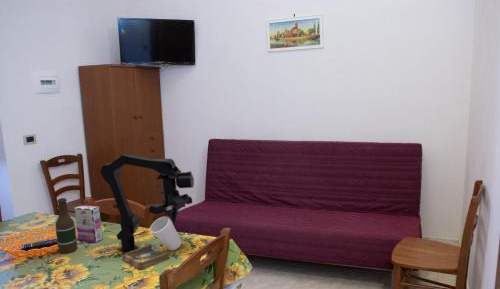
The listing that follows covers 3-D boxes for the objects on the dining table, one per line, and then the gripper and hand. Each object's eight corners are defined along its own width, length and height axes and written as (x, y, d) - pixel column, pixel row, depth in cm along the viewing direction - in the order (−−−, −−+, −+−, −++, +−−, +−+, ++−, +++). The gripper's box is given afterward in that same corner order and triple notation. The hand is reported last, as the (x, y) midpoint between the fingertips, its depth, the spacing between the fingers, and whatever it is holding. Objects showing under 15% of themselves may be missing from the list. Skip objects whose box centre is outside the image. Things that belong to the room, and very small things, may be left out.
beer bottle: (81, 248, 178) (75, 197, 174) (67, 255, 171) (60, 202, 167) (69, 246, 181) (62, 195, 177) (54, 252, 174) (47, 200, 170)
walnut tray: (122, 260, 163) (122, 254, 163) (150, 249, 172) (149, 244, 172) (140, 270, 153) (140, 264, 153) (169, 258, 162) (168, 252, 162)
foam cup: (180, 252, 166) (164, 231, 160) (162, 254, 169) (146, 234, 163) (187, 235, 174) (172, 214, 167) (169, 237, 177) (155, 218, 171)
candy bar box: (103, 239, 187) (99, 206, 185) (95, 243, 183) (92, 209, 180) (85, 236, 192) (81, 204, 189) (77, 240, 187) (73, 207, 184)
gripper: (161, 196, 156) (165, 234, 158) (198, 186, 169) (201, 220, 171) (146, 192, 164) (150, 228, 166) (183, 182, 177) (186, 215, 179)
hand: (173, 223), depth 170 cm, fingers closed
